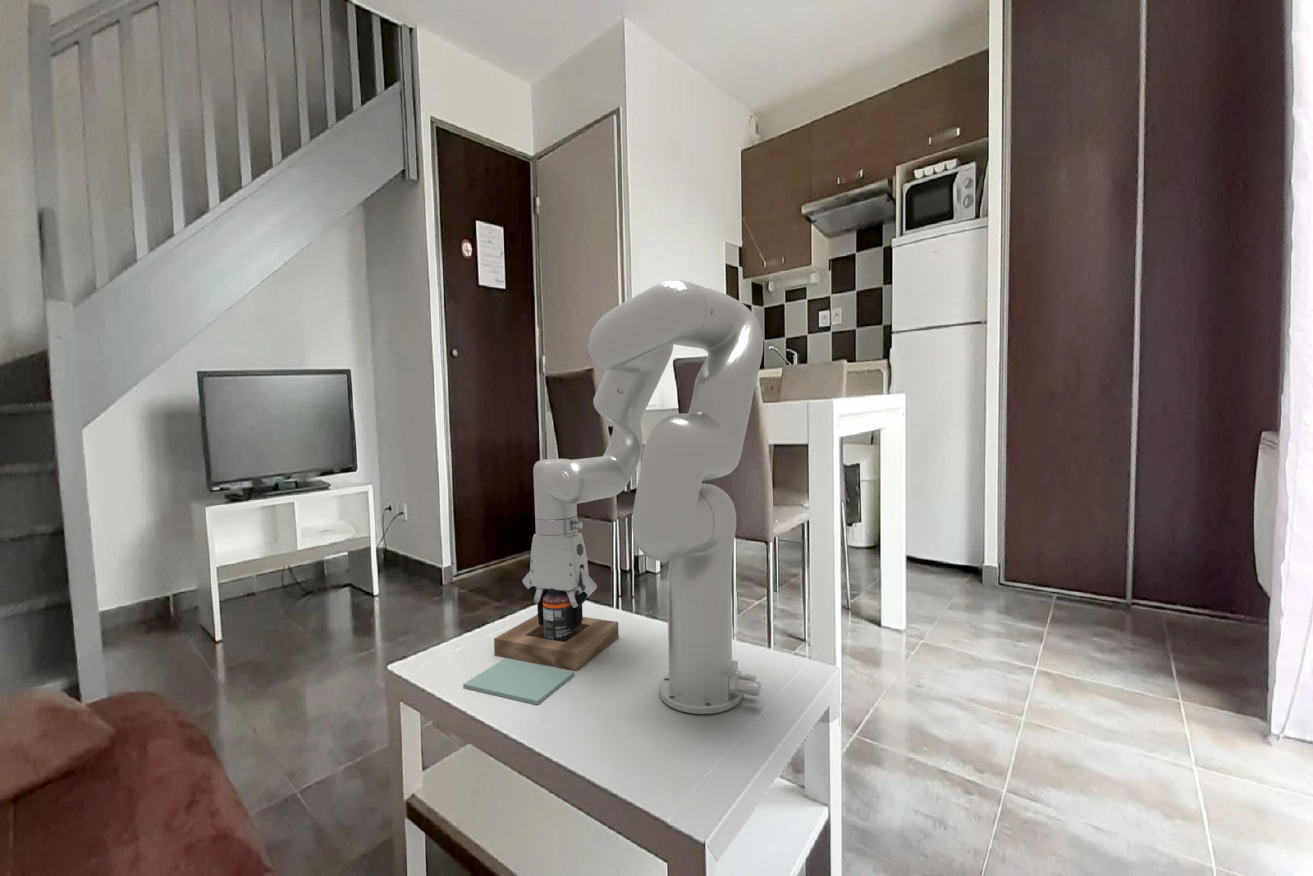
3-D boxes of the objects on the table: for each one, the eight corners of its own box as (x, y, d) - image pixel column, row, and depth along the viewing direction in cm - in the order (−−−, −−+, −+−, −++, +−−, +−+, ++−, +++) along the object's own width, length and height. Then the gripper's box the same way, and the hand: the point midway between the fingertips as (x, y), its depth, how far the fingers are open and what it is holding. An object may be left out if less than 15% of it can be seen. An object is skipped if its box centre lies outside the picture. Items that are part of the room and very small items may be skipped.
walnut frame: (618, 637, 106) (618, 622, 106) (576, 671, 92) (576, 653, 92) (543, 625, 113) (543, 611, 112) (494, 655, 99) (494, 638, 99)
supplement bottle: (568, 634, 106) (566, 575, 106) (583, 644, 101) (580, 582, 101) (539, 642, 103) (537, 581, 102) (552, 652, 98) (550, 589, 97)
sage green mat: (574, 675, 90) (574, 671, 90) (537, 705, 81) (537, 701, 81) (504, 661, 96) (504, 658, 96) (463, 688, 87) (463, 684, 87)
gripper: (608, 525, 101) (611, 623, 102) (530, 521, 108) (533, 613, 109) (587, 533, 94) (590, 638, 95) (505, 528, 101) (508, 626, 102)
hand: (560, 623), depth 102 cm, fingers closed on supplement bottle, 6 cm apart
